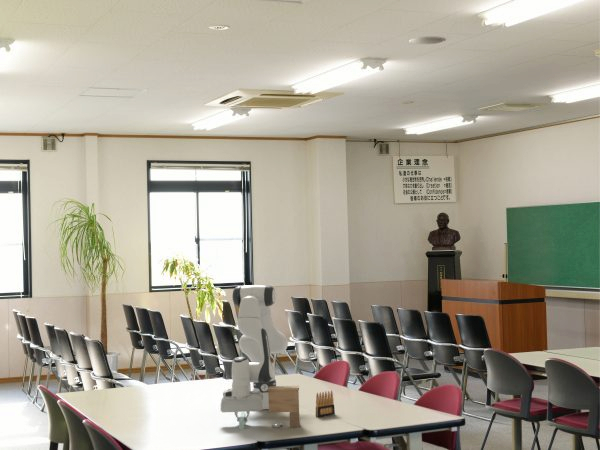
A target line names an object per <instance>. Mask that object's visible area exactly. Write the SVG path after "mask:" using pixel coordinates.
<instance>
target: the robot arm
mask: <svg viewBox="0 0 600 450" xmlns="http://www.w3.org/2000/svg"><path fill="white" fill-rule="evenodd" d="M276 293H277V292H276V290H275V288H274V287H273V286H271V285H261V284H252V285H239V286H235V288H234V289H233V290H232V302H233V304H234V305H235V306H236V307H237V308H239V309H238V315H237V328H238V331H239V332H240V333H241V334H242V335H241V337H239V340H238V348H239V349H240V351H241V353H243V354H244V355H246V356H238V357H235V358H233V359H232V363H231V379H232V383H231V388H228V389H227V390H226V389H225V390H224V391H223V392H222V398H221V402H220V412H221V413H234V416H235V417H236V421H237V422H239V419H240V416H239V415H238V412H239V413H241V412H245V413H246V415H245V417H244V421H245V422H248V418H249V416H250V412H262V411H263V410H269V398H268V387H270V386H277V380H276V367H275V364H274V363H273V362H272V357H271V355H272V354H273V355H274V354H279V353H283V352H285V351H286V350H287V348H288V344H289V341H288V338H287V336H286V335H285V334H284V333H283V332H281V331H280V330H279V329H278V328H277V327H276V326H275V324H274V322H273V319H272V318H273V317H272V312H271V306H273V305H274V304H275V301H276V299H277V298H276V297H277V294H276ZM249 360H250V361H249ZM251 383H252V387H253V389H252V390H251Z"/></svg>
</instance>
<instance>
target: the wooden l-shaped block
mask: <svg viewBox="0 0 600 450" xmlns="http://www.w3.org/2000/svg"><path fill="white" fill-rule="evenodd" d="M299 390H300V385H279V386H278V385H276V386H270V387H268V398H269V409H268V414H271V413H272V414H273V413H289V428H300V427H301V423H300V422H301V420H300V398H299V397H300V395H299V394H300V392H299Z"/></svg>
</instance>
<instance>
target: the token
mask: <svg viewBox="0 0 600 450" xmlns="http://www.w3.org/2000/svg"><path fill="white" fill-rule="evenodd" d="M282 427H283V423H281V422H280V423H278V422H275V423H271V428H282Z"/></svg>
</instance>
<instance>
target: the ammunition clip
mask: <svg viewBox="0 0 600 450" xmlns="http://www.w3.org/2000/svg"><path fill="white" fill-rule="evenodd" d="M335 413H336V411H335V404H334V392H333V390H328V391H325V392H324V391H322V392H321V391H320V392H317V393H316V401H315V418H318V419H320V418H324V416H325V417H330V416H336V414H335Z"/></svg>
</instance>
